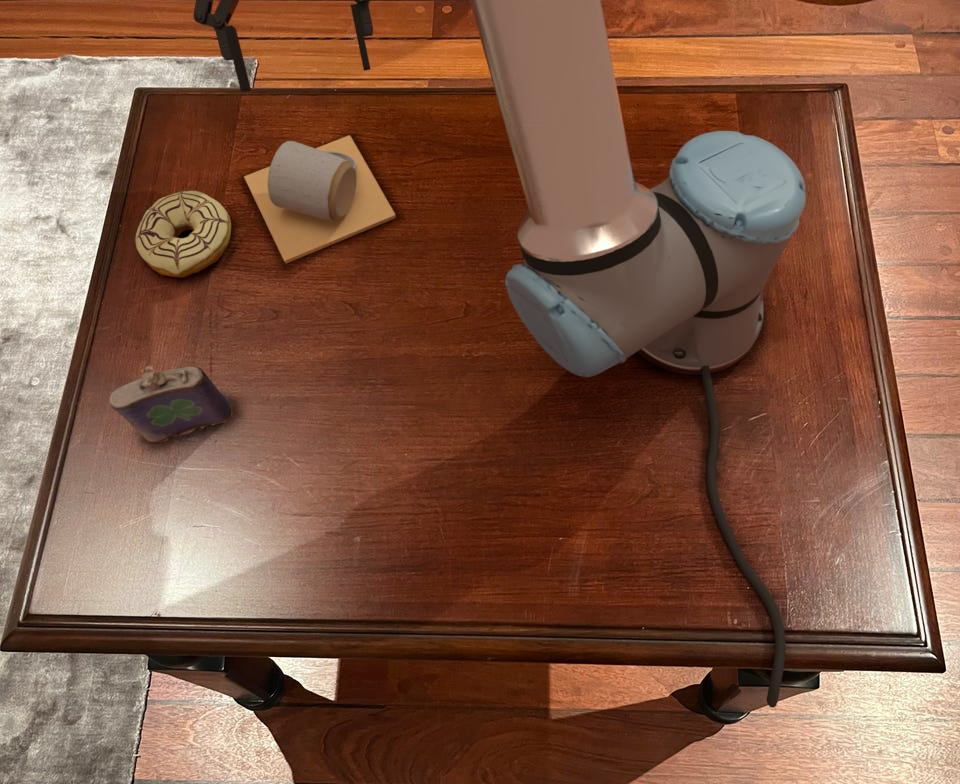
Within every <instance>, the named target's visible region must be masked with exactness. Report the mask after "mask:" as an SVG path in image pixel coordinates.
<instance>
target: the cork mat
mask: <svg viewBox="0 0 960 784" xmlns="http://www.w3.org/2000/svg"><path fill="white" fill-rule="evenodd" d="M315 149H317V150H320V151H334V152H339V153H343V154H345V155H348V156H350V157H351V158H353V159H354V160H355V162H356V165H357V170H356V190H355V195H354V199H353V202H352V204H351V207H350V208H349V210H348V212H347V213H346V215H345V216H344V217H342V218H341V219H339V220H335V221H332V220H324V219H320V218H317V217H314V216H310V215H306V214H302V213H299V212H295V211H292V210H288V209H284V208H280V207H277V206H275V205H274V204H273V203H272V202H271V200H270V197H269V193H268V173H269V168H270V166H267V167H265V168H262V169H259V170H256V171H254V172H251V173H250V174H247V175H244V176H243V179H244V181H245V182H246V185H247V187H248V188H249V189H248V190H249V191H250V193H251V195H252V198H253V199H254V201H255V203H256V205H257V207H258V210H259V212H260V213H261V216H262V218H263V220H264V222H265V224H266V226H267V228H268V231H269V233H270V235H271V237H272V239H273V242H274V244H275V245H276V248H277V250H278V252H279V254H280V256H281V259H282V260H283V262H284V264H286V265H287V264H289V263H291V262H294V261H296V260H299V259H301V258H303V257H306V256H308V255H311V254H312V253H315V252H317V251H320V250H322V249H325V248H327V247H329V246H332V245H334V244H337V243H339V242H342V241H344V240H346V239H349V238H351V237H354V236H356V235H358V234H361V233H363V232H365V231H368V230H371V229H373V228H375V227H378V226H380V225H382V224H385V223H387V222H389V221H392V220H394V219H396V218H397V216H396V213H395V211H394V209H393V208H392V205H390V203H389V201H388V200H387V197H386V195H385V194H384V192H383V191H382V188H381V187H380V185H379V183H378V182H377V180H376V178H375V176H374V174H373V173H372V171H371V169H370V168H369V166H368V164H367V162H366V161H365V159H364V157H363V156H362V153H361V152H360V150H359V148H358V146H357V145H356V143H355V142H354V139H353V138H352V136H351V134H349V135H346V136H344V137H341V138H338V139H337V140H333V141H331V142H329V143H326V144H323V145H320V146H317V147H315Z"/></svg>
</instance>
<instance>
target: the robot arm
mask: <svg viewBox="0 0 960 784" xmlns="http://www.w3.org/2000/svg"><path fill="white" fill-rule="evenodd" d="M353 1H354V2H355V3H353V4H350V10H351V14H352V19H353V24H354V28H355V34H356V39H357V45H358V49H359V54H360V58H361V63H362V70H363V71H371V65H370V60H369V55H368V49H367V45H366V40H365V38H366V37H371V36H373V34H374V26H373V21H372V16H371V11H370V6H369V5H370V2H371V1H372V0H353ZM239 2H240V0H219V3H218V4H217V7H216V9H215V10H214V13H212V11H213V6H214V0H195V3H194V4H195V5H194V11H193V15H192V16H193V20H194V21H195V22H196V23H197V24H199V25H200V26H203V27H210V28H213V30H214V32H215V35H216V39H217V44H218V47H219V51H220V56H222V58H223V60H224V61H226V62H228V61H233V65H234V70H235V74H236V77H237V81H238V85H239V89H240V91H241V92H243V93H245V92H251V91H252V88H251V84H250V79H249V76H248V72H247V67H246V63H245V60H244V55H243V51H242V47H241V45H240V40H239V35H238V32H237V31H238V30H237V28H236V27H235V26H233V24H231V25H229V23H230V21H231V20H232V17H233V15H234V13H235V10H236V8H237V7H238V5H239ZM468 2H469V4H470V7H471V11H472V13H473V14H472V15H473V18H474V21H475V26H476V29H477V32H478V36H479V39H480V42H481V43H480V44H481V46H482V50H483V53H484V57H485V60H486V64H487V67H488V72H489V75H490V78H491V82H492V85H493V88H494V92H495V96H496V98H497V103H498V107H499V110H500V114H501V117H502V121H503V124H504V127H505V131H506V134H507V138H508V141H509V145H510V149H511V152H512V155H513V160H514V163H515V167H516V170H517V173H518V177H519V181H520V184H521V187H522V192H523V194H524V198H525V202H526V205H527V209H528V210H527V212H526V213H525V215H524V217H523V218H522V219H521V221H520V223H519V225H518V228H517V233H516V234H517V235H516V237H517V241H518V245H519V247H520V251H521V254H522V258H523V261H522V263H517V264H513V266H512V268H511V269H510V270H509V271H508V272H506V276H505V281H504V283H505V289H506V292H507V295H508V298H509V300H510V303H511V304H512V306H513V308H514V310H515V312H516V314H517V315H518V318H519V319H520V320H521V322H522V323H523V325H524V326H525V327H526V329H527V330H528V332H529V334H530V335H531V336H532V337H533V338H534V340H535V341H536V343H538V345H539V347H541V348H542V350H544V352H546V354H547V355H548V356H549V357H550V358H551V359H552V360H553V361H554V362H556V363H557V365H559V366H560V367H562V368H563V369H565V370H566V371H568V372H569V373H571V374H573V375H575V376H578V377H584V378H591V377H595V376H597V375H599V374H601V373H603V372H606V371H607V370H608V369H610V368H613V367H614V366H616V365H618V364H623V363H625V362H626V361H627V360H628V358H630V357H631V356H632V355H634V354H635V353H638V355H640V356H641V357H642V358H644V359H645V360H646V361H647V362H649V363H651V364H652V365H653V366H656V367H658V368H661V369H662V370H665V371H667V372H671V373H675V374H678V375H686V376H701V380H702V385H703V391H704V397H705V403H706V407H707V414H708V420H709V443H708V452H707V459H706V467H705V468H706V470H705V471H706V472H705V474H706V475H705V477H706V487H707V494H708V498H709V501H710V505H711V509H712V512H713V514H714V518H715V520H716V522H717V524H718V527H719V529H720V532H721V533H722V536H723V538H724V540H725V542H726V544H727V546H728V548H729V550H730V552H731V554H732V556H733V558H734V560H735V563H736V564H737V565H738V567H739V569H740V571H741V572H742V573H743V575H744V576H745V578H746V579H747V580H748V582H749V583H750V585H751V586H752V587H753V590H755V592H756V593H757V594H758V596H759V597H760V599H761V600H762V602H763V604H764V606H765V608H766V610H767V612H768V615H769V617H770V621H771V624H772V628H773V635H774V655H773V664H772V669H771V672H770V673H771V674H770V680H769V684H768V689H767V695H766V704H767V705H768V707H769V708H776V707H777V705H778V701H779V697H780V690H781V685H782V680H783V675H784V669H785V662H786V652H787V651H786V650H787V649H786V646H787V645H786V633H785V628H784V623H783V620H782V615H781V612H780V610H779V608H778V606H777V603H776V601H775V600H774V598H773V596H772V594H771V593H770V592H769V590H768V589H767V587H766V586H765V584H764V583H763V582H762V580H761V579H760V577H759V576H758V575H757V574H756V572H755V571H754V569H753V568H752V567H751V564H750V563H749V562H748V560H747V558H746V556H745V555H744V553H743V551H742V549H741V547H740V545H739V543H738V541H737V538H736V536H735V535H734V532H733V530H732V528H731V526H730V524H729V522H728V520H727V517H726V514H725V513H724V512H725V511H724V510H723V506H722V503H721V499H720V495H719V492H718V491H719V490H718V486H717V461H718V456H719V455H718V454H719V448H720V447H719V446H720V419H719V413H718V407H717V402H716V397H715V393H714V392H715V391H714V386H713V381H712V376H711V374H715V373H718V372H721V371H725V370H726V369H729V368H731V367H733V366H734V365H736V364H737V363H739V362H740V361H741V360H743V358H745V356H746V355H747V354H748V353H749V352H750V350H751V349H752V347H753V346H754V344H755V342H756V341H757V339H758V337H759V335H760V333H761V330H762V327H763V323H764V315H765V314H764V313H765V312H764V311H765V309H764V307H765V306H764V291H763V290H764V287H765V286H766V284H767V282H768V281H769V278H770V276H771V275H772V273H773V272H774V271H773V270H774V269H775V267H776V265H777V263H778V261H780V258H781V256H782V254H783V252H784V250H785V249H786V247H787V245H788V243H789V241H790V240H791V238H792V237H793V235H794V234H796V231H797V230H798V228H799V225H800V219H801V215H802V214H803V211H804V208H805V206H806V201H807V200H806V199H807V197H806V195H807V194H806V184H805V183H806V182H805V181H804V177H803V176H802V175H803V174H802V173H801V171H800V169H799V168H798V166H797V165H796V164H795V162H794V161H793V159H791V158H790V157H789V155H787V154H786V153H785V151H783V150H781V149H780V148H779V147H777V146H776V145H775V144H773V143H771V142H769V141H767V140H765V139H763V138H761V137H758V136H756V135H753V134H752V135H751V134H750V135H749V134H744V133H741V132H739V131H735V130H734V131H733V130H717V131H716V130H715V131H710V132H705V133H702V134H700V135H696V136H695V137H693V138H691V139H689V140H688V141H687V142H685V144H683V146H681V147H680V149H679V150H678V152H677V153H676V155H675V157H674V158H673V159H672V160H671V164H670V167H669V172H668V176H667V178H665V179H664V180H663V181H661V183H659V184H657V185H655V186H653V187H652V188H650V189H649V188H648V187H646V186H645V185H643V184H640V183H639V182H637V181H635V178H634V173H633V172H634V171H633V168H632V161H631V157H630V151H629V146H628V140H627V136H626V129H625V124H624V120H623V114H622V108H621V103H620V97H619V91H618V87H617V81H616V76H615V75H616V74H615V71H614V64H613V60H612V56H611V55H612V54H611V49H610V43H609V38H608V33H607V27H606V21H605V17H604V10H603V6H602V0H469V1H468Z"/></svg>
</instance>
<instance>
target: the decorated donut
mask: <svg viewBox="0 0 960 784" xmlns="http://www.w3.org/2000/svg"><path fill="white" fill-rule="evenodd" d="M230 217H231V216H230V215H229V213H228V211H227V210H226V208H224V206H223V205H222V204H221V203H220V202H219V201H217V200H216V199H215V198H212V197H211V196H209V195H208V194H206V193H204V192H202V191H198V190H187V191H185V190H182V191H179V192H175V193H172V194H169V195H167V196H166V195H165V196H164V197H160V198H158V199H157V200H156V201H155V202H154V203H153V204H152V206H151V207H149V208H148V209H147V210H146V211H145V212H144V214H143V217H142V219H141V221H140V222H139V225H138V226H137V230H136V233H135V247H136V250H137V252H138V254H139V255H140V257H141V258H142V259H143V261H144V262H145V263H146V264H147V265H148V266H149V267H150V268H151V269H152V271H155V272H157V273H158V274H160V275H161V276H167V277H172V278H186V277H188V276H191V275H193V274H198V273H199V272H201V271H202V270H204V269H206V268H207V267H209V266H211V265H212V264H214V263H216V262H217V261H218V260H219V259H220V258H221V256H223V255H224V253H225V251H226V250H227V247H228V245H229V244H230V240H231V236H232V234H231V233H232V222H231V218H230ZM185 231H192V232H191V233H190V234H189V235H188V236H186V237H181V238H180V237H179V236H180V235H181V234H182V233H185Z"/></svg>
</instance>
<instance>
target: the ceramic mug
mask: <svg viewBox="0 0 960 784" xmlns="http://www.w3.org/2000/svg"><path fill="white" fill-rule="evenodd" d="M315 148H316V147H315ZM315 148H314V147H312V146H309V145H306V144H304V143H300V142H298V141H295V140H287V141H285V142H284V143H282V144H281V145H280V146H279V147H278V148H277V150H276V151H275V154H274V156H273V158H272V160H271V163H270V165H269V167H270V168H269V173H268V193H269V197H270V200H271V202H272V203H273V204H274V205H275V206H277V207H280V208H284V209H288V210H292V211H295V212H299V213H302V214H306V215H310V216H314V217H317V218H320V219H324V220H332V221H335V220H339V219H341V218H342V217H344V216H345V215H346V213H347V212H348V210H349V208H350V207H351V204H352V202H353V199H354V195H355V190H356V170H357V165H356V162H355V160H354V159H353V158H351V157H350V156H348V155H345V154H343V153H339V152H334V151H320V150H317V149H315Z"/></svg>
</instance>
